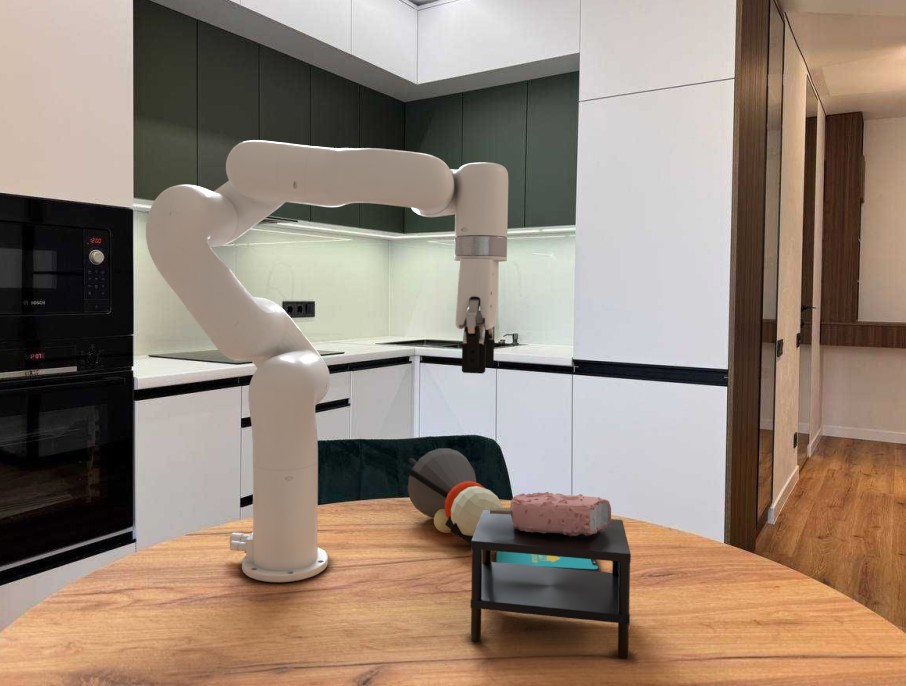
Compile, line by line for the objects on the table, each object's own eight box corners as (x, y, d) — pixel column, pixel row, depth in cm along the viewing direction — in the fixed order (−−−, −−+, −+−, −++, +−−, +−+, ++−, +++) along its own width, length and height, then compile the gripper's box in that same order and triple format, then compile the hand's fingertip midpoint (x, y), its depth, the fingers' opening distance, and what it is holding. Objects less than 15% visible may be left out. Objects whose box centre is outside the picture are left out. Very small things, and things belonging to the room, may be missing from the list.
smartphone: (496, 545, 110) (593, 550, 108) (496, 550, 110) (593, 555, 108) (495, 564, 103) (599, 569, 101) (495, 569, 103) (599, 575, 101)
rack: (470, 641, 82) (471, 540, 81) (482, 597, 94) (483, 509, 93) (629, 659, 78) (630, 554, 78) (620, 611, 90) (622, 519, 89)
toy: (367, 476, 132) (423, 538, 104) (401, 417, 134) (465, 462, 106) (438, 512, 138) (509, 580, 110) (470, 455, 140) (548, 508, 112)
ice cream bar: (491, 487, 90) (608, 491, 87) (491, 520, 90) (608, 525, 87) (488, 500, 83) (614, 505, 81) (488, 536, 83) (614, 541, 81)
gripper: (464, 254, 109) (462, 362, 110) (443, 246, 92) (441, 374, 93) (512, 254, 108) (510, 364, 108) (500, 246, 91) (497, 377, 91)
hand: (478, 369), depth 100 cm, fingers open, 9 cm apart
